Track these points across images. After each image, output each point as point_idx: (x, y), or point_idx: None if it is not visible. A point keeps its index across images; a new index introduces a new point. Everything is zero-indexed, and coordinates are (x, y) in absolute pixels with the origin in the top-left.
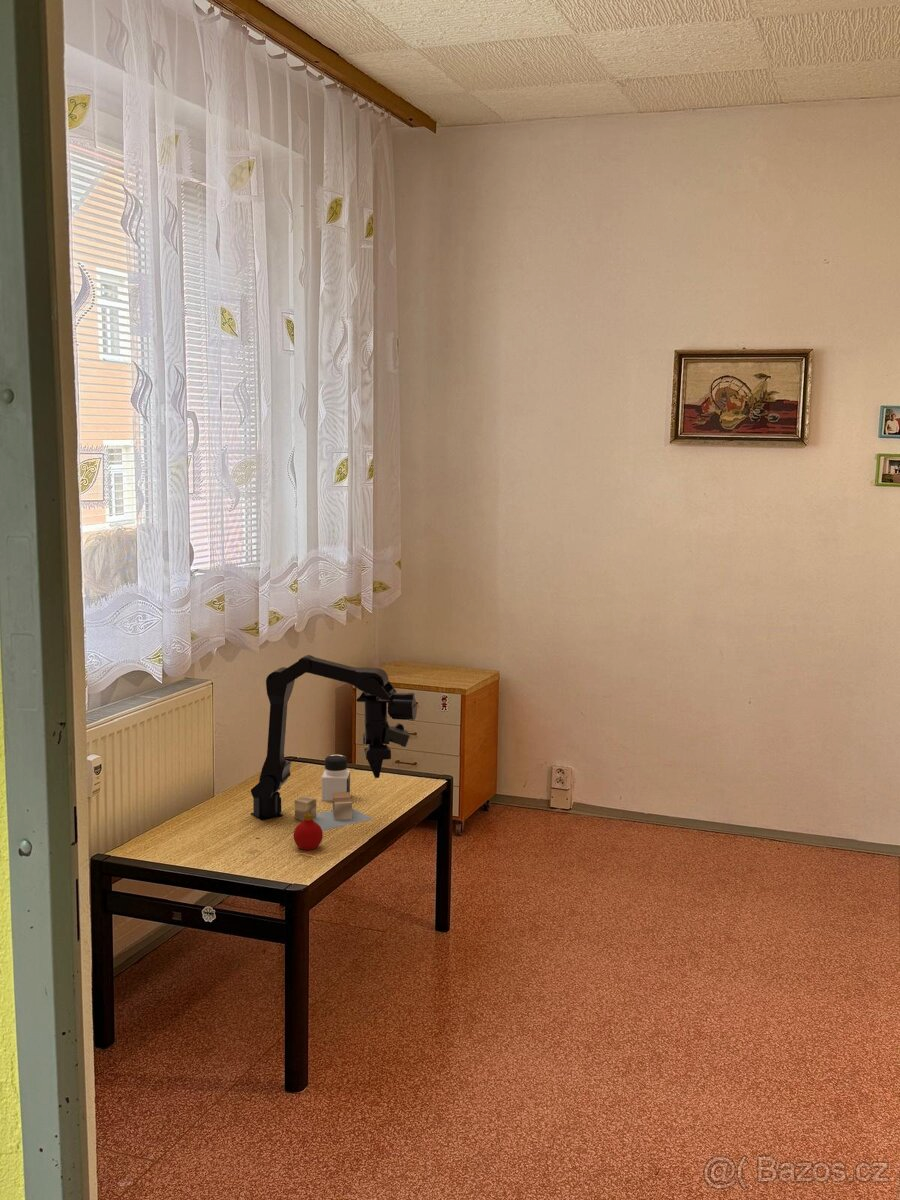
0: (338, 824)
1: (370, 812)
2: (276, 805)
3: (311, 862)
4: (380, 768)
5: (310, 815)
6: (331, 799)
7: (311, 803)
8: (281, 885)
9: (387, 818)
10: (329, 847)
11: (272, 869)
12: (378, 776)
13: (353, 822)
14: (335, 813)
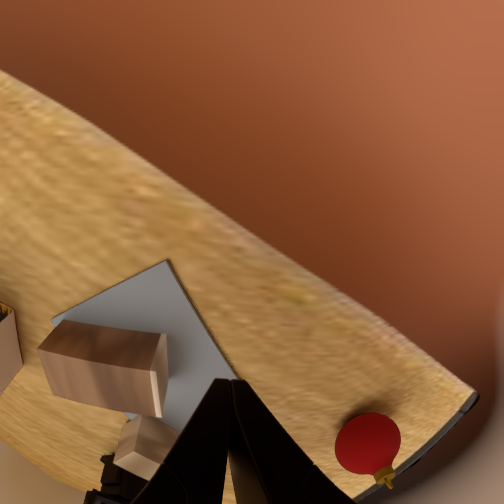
0: (212, 375)
1: (85, 256)
2: (137, 480)
3: (416, 405)
4: (300, 449)
5: (393, 475)
6: (16, 350)
7: (155, 455)
8: (455, 419)
9: (154, 202)
10: (366, 389)
11: (407, 443)
12: (248, 391)
13: (199, 333)
14: (165, 390)
